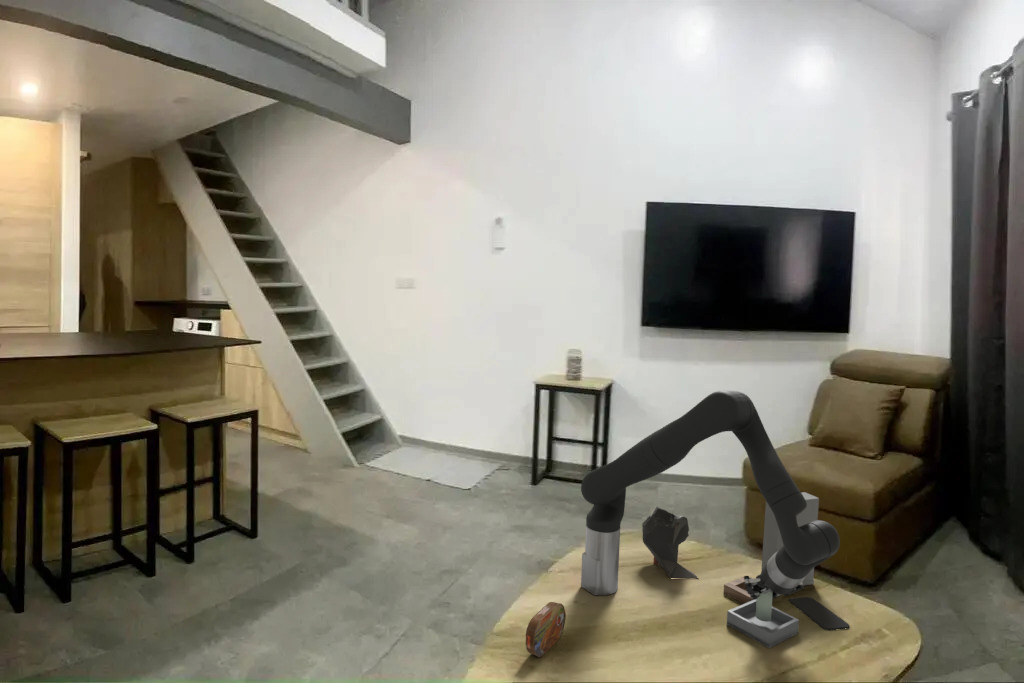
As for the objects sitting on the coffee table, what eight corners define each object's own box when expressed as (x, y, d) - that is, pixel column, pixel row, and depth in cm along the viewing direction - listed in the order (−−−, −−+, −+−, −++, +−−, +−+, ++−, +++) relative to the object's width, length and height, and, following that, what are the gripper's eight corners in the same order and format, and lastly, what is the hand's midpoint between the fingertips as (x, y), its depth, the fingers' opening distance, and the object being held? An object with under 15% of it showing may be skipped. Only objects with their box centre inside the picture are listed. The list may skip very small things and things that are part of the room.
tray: (769, 648, 141) (769, 633, 141) (726, 624, 151) (727, 610, 151) (798, 633, 148) (799, 619, 147) (755, 611, 157) (756, 598, 157)
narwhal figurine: (681, 555, 190) (684, 498, 188) (699, 579, 174) (702, 517, 173) (635, 555, 189) (638, 498, 187) (649, 579, 174) (652, 517, 172)
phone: (810, 596, 165) (852, 626, 151) (810, 599, 166) (851, 629, 151) (786, 598, 164) (825, 629, 149) (786, 601, 164) (825, 632, 149)
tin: (534, 664, 134) (535, 627, 133) (522, 659, 135) (523, 622, 134) (566, 632, 146) (567, 598, 145) (554, 628, 148) (555, 594, 147)
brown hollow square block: (751, 607, 159) (752, 598, 159) (723, 593, 167) (724, 584, 166) (771, 598, 164) (772, 589, 164) (743, 585, 171) (744, 576, 171)
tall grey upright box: (797, 574, 178) (803, 491, 176) (813, 584, 173) (819, 498, 170) (758, 581, 174) (763, 495, 172) (773, 591, 168) (779, 502, 166)
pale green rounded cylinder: (765, 623, 147) (767, 582, 146) (752, 616, 150) (754, 576, 149) (774, 618, 149) (776, 579, 148) (761, 612, 152) (763, 573, 151)
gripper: (811, 555, 140) (786, 581, 153) (749, 553, 140) (729, 579, 153) (821, 589, 135) (794, 612, 148) (756, 586, 135) (734, 610, 149)
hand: (761, 595), depth 151 cm, fingers closed on pale green rounded cylinder, 3 cm apart
